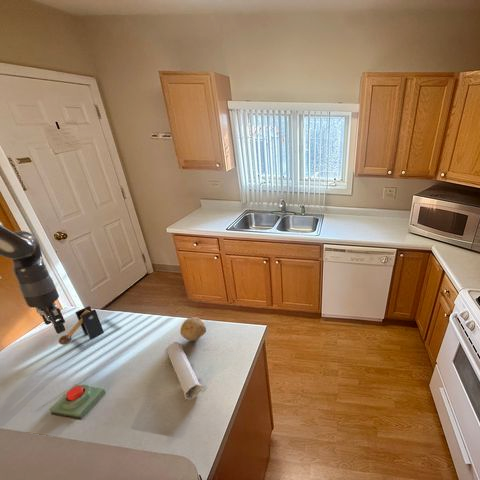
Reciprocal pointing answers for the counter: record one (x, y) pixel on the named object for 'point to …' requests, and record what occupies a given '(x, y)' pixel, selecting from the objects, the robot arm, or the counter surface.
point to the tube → (184, 371)
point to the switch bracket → (90, 322)
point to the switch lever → (71, 332)
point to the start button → (75, 393)
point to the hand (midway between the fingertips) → (55, 327)
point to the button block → (78, 402)
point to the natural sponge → (192, 329)
